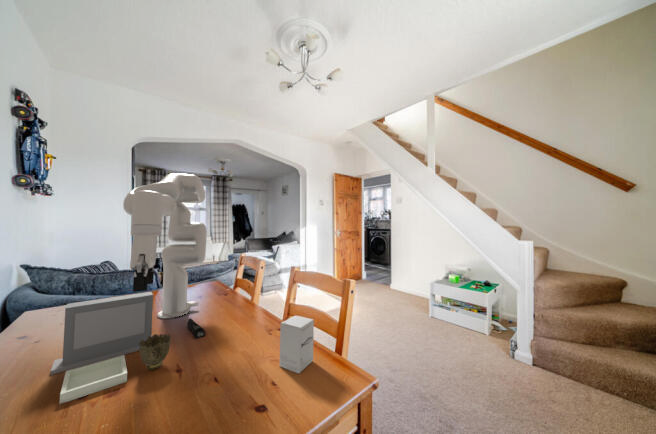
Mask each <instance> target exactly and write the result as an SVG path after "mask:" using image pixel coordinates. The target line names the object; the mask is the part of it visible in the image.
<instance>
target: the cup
mask: <svg viewBox="0 0 656 434" xmlns="http://www.w3.org/2000/svg"><path fill="white" fill-rule="evenodd" d="M151 336H152V337H151ZM151 336H148V337H147V340H145V341H143V340H141V342H139V348H140V350H139V356H140V359H141V362H142V364H144V365H146V369H147V370H149V371H152V370H156V369H158V368H160V367H162V366H163V361H164V360H165V359H166V358H167V356H168V354H169V352H170V351H169V350H170V346H171V339H172V335H171V334H170V335H169V333H164V334H163V333H160V334H159V335H158V334H156V333H154V334H153V335H151Z"/></svg>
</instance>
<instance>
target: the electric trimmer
mask: <svg viewBox="0 0 656 434" xmlns="http://www.w3.org/2000/svg"><path fill="white" fill-rule="evenodd" d="M186 326H187V329H188V331H190V332H192V333H193V337H194V339H197V340H198V339H200V338H204V337H206V332H205V330H204V328H203V327H202V326H201V325H200V324H198V323H197V322H196V321H195V320H194V319H193V318H188V320H187V322H186Z"/></svg>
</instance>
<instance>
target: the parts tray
mask: <svg viewBox="0 0 656 434" xmlns="http://www.w3.org/2000/svg"><path fill="white" fill-rule="evenodd" d="M125 355H126V354H124V355H120V356H117V357H113V358H110V359H106V360H102V361H99V362H95V363H92V364H88V365H84V366H81V367H77V368H73V369H70V370H66V371H65V373H64V377H63V382H62V386H61V390H60V393H59V405H62V404H64V403H65V404H66V403H68V402H71V401H73V400H77V399H79V398H82V397H85V396H87V395H91V394H94V393H97V392H100V391H103V390H107V389H108V388H112V387H115V386H118V385H121V384H124V383H126V382H127V381H128V369H127V364H126V358H125ZM61 403H62V404H61Z"/></svg>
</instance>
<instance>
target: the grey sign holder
mask: <svg viewBox="0 0 656 434" xmlns="http://www.w3.org/2000/svg"><path fill="white" fill-rule="evenodd" d="M153 302H154V294H153V293H152V291H144V292H139V293H133V294H126V295H119V296H113V297H105V298H100V299H99V298H97V299H92V300H85V301H79V302H78V301H77V302H71V303H67V304H66V306H65V307H64V308H65V310H64V311H65V312H64V324H63V325H64V328H63V346H62V347H63V348H62V357H61V358H58V359H54V361H53V363H52V366H51V368H50V375H54V374H59V373H62V372H66V371H68V370H72V369H76V368H79V367H83V366H86V365H90V364H94V363H97V362H101V361H104V360H108V359H112V358H115V357H119V356H122V355H127V354H131V353H135V352H138V351H139V352H140V348H139V342H141V340H143V341H145V340H147V337H148V336H151V337H152V336H153V335H152V332H153V331H152V329H153V328H152V327H153V307H154V303H153Z"/></svg>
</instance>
